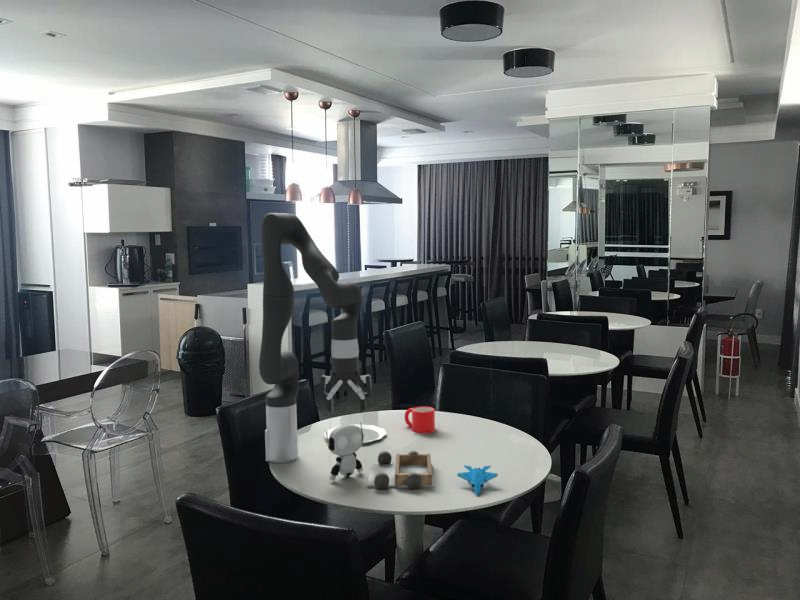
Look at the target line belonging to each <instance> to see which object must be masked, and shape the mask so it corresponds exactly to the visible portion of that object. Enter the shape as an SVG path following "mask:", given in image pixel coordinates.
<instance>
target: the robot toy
mask: <svg viewBox="0 0 800 600" xmlns="http://www.w3.org/2000/svg"><path fill="white" fill-rule="evenodd" d="M359 424H360V426H361V428H359V427H358V426H355V424H343V425H339V426H340V427H339V426H337V427H338V428H336V429H334V430H333V431H332V432H331V434H330V436H329V439H328V435H327V431H328V430H326V431H325V432H326V436H327V439H326V441H327V443H326V445H327V447H328V450H329V451H330V453H331V454H333V455H336V458H335V462H336V463H335V464H334V465H333V466H332V467H331V470H330V476H329V480H330V481H333V482H335V481H336V479H337V477H336V476H339V474H340V475H342V476H343V477H344V478H349V477H350V476H352V475H354V472H355V470H356V471H357V473H359V474H361V473H362V472H363V471H364V470H363V464H362V463H361V461H360V460H359V459H358V458H357V456H358V455H357V453H356V452H358V451H359V450H360V448H361V447H362V446H363V444H362V443H363V442H364V437H365V435H364V430H363V429H362V424H363V423H362V422H359Z"/></svg>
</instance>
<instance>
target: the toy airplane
mask: <svg viewBox="0 0 800 600" xmlns="http://www.w3.org/2000/svg"><path fill="white" fill-rule="evenodd" d="M463 467H464V468H465V469H467V471H464V472H457V474H456V475H457V477H459V478H461V479H463V480H465V481H467V482H468V483H470V486H471V487H472V488H473V489H474V492H475V495H476V496H477V497H478V496H479V495H480V493H481V490H482V488H483V487H485V484H488V481H491V480H492V479H495V478H497V477H498V474H499V473H496V472H490V471H488V470H489V469H490V468H492V466H491V465H490V464H489V465H485V466H483V467H482V468H480V467H478V468H477V467H474V468H472V466H470V465H465V464H464V466H463Z"/></svg>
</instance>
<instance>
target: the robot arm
mask: <svg viewBox="0 0 800 600" xmlns="http://www.w3.org/2000/svg"><path fill="white" fill-rule="evenodd" d="M260 235H261V251H262V260H263V261H262V265H263V267H262V268H263V281H262V282H263V283H262V284H263V286H262V287H263V288H262V329H261V330H262V331H261V344H260V350H259V351H260V352H259V359H258V360H259V361H258V371H259V374H260V379H261V380H262V381H263V382H264V383H265V384H267V385H271V386H272V385H274V386H273V388H272V389H271V390H270V391H269V392H268V393H267V394H266V395H265V415H266V416H265V420H266V421H265V423H266V429H265V430H264V442H265V445H264V446H265V448H264V449H265V462H271V463H276V464H278V463H280V464H283V463H290V462H292V461H295V460H297V459H298V458H297V457H299V455H298V452H299V451H298V450H299V449H298V421H297V416H298V415H297V413H298V412H297V398H298V395H299V386H300V381H299V379H300V368H299V367H300V366H299V362H298V361H299V360H298V358H297V356H296V355H295V354H294V353H293V352H292V351H290V350H282V342H283V337H284V335H285V332H286V329H287V327H288V326H289V323H290V321H291V320H292V317H293V314H294V310H295V290H294V289H295V287H294V284H293V282H292V280H291V278H290V276H289V274H288V272H287V270H286V269H285V266H284V264H283V261H282V245H291V246H293V247H294V248H295V249H297V250H298V252H299V253H300V255H301V263H302V268H303V270H304V271H305V273H306V274H307V275H308V277H309V278H310V279H311V280H312V282H314V283H315V285H316V286H317V288H318V290H319V293H320V295H321V297H322V299H323V301H324V303H325V304H326V305H327V306H328V307H330V308H331V309H334V310H341V313H340V314H339V315H338V316H337V317H334V318H333V319H332V320H331V346H330V348H331V349H330V351H331V352H330V353H331V376H330V375H326V374H322V376H321V377H320V385H319V387H320V389H319V397H320V398H322V399H325V400H326V409H327V412H329V414H333V412H334V406H333V405H334V404H333V403H334V398H333V397H334V395H335V394H336V392H337V391H339V392H352V391H354V392H355V393H356V394H357V395H358V397H359V398H360V399H359V413H362V414H363V412H364V411H365V410H366V407H367V404H366V400H367V398H371V397H372V396H373V395H372V394H373V391H372V389H373V388H372V378H371V377H372V376H371V374H369V373H368V374H365V375H361V374H360V360H359V359H360V358H359V353H360V350H359V343H358V320H359V317H360V316H359V315H360V312H361V307H362V304H363V294H362V289H361V288H360V286H359V285H358V284H357V283H355V282H352V281H350V282H349V281H348V282H338V281H339V279H340V274H339V271H338V270H337V268H336V267H335V266H334V265H333V264H332V263H331V262H330V260H329V259H328V258H327V257H326V256H325V255H324V254H323V252H322V251H321V250H320V248H318V246H317V245H316V243H315V241H314V240H313V238H312V236H311V234H310V233H309V232H308V230H307V229H306V227H305V225H304V224H303V222H302V221H301V219H300V218H299V217H298V216H297V215H296V214H293V213H285V212H270V213H269V212H268V213H266V214H265V215H264V217H263V219H262V221H261V228H260ZM361 381H362V383H364V384H365V388H366V392H364V391H363V389H362V387H360V385H359V383H360V382H361ZM329 382H331V384H332V385H333V387H332V388H331V390H330V391H329V393H328V392H326V388H327V384H328V383H329ZM296 458H297V459H296Z"/></svg>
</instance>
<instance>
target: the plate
mask: <svg viewBox="0 0 800 600" xmlns="http://www.w3.org/2000/svg"><path fill="white" fill-rule="evenodd" d="M361 424H362V430H370V431H372V432H376V433H377V434H378V437H377V438H374V439H372V440H371V439H370V440H367V441H363V443H362V445H363V444H368V443H373V442H375V441H378V440H381V439H383V438H384V437H385V436H386V435H387V431H386V430H385V429H384V428H383V427H379V426H376V425H372V424H363V423H361ZM354 425H355V426H358V427H359V428H361V426H360V423H359V424H358V423H357V424H356V423H355V424H354ZM340 426H341V425H339V426H335V427H332V428H329V429H328V430H326V431H327V435H328V439H329V436H330V434H331V432H332V431H333V430H334V429H336V428H338V427H340ZM326 431H324V433H323V435H324V439H326V440H327V436H326Z"/></svg>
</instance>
